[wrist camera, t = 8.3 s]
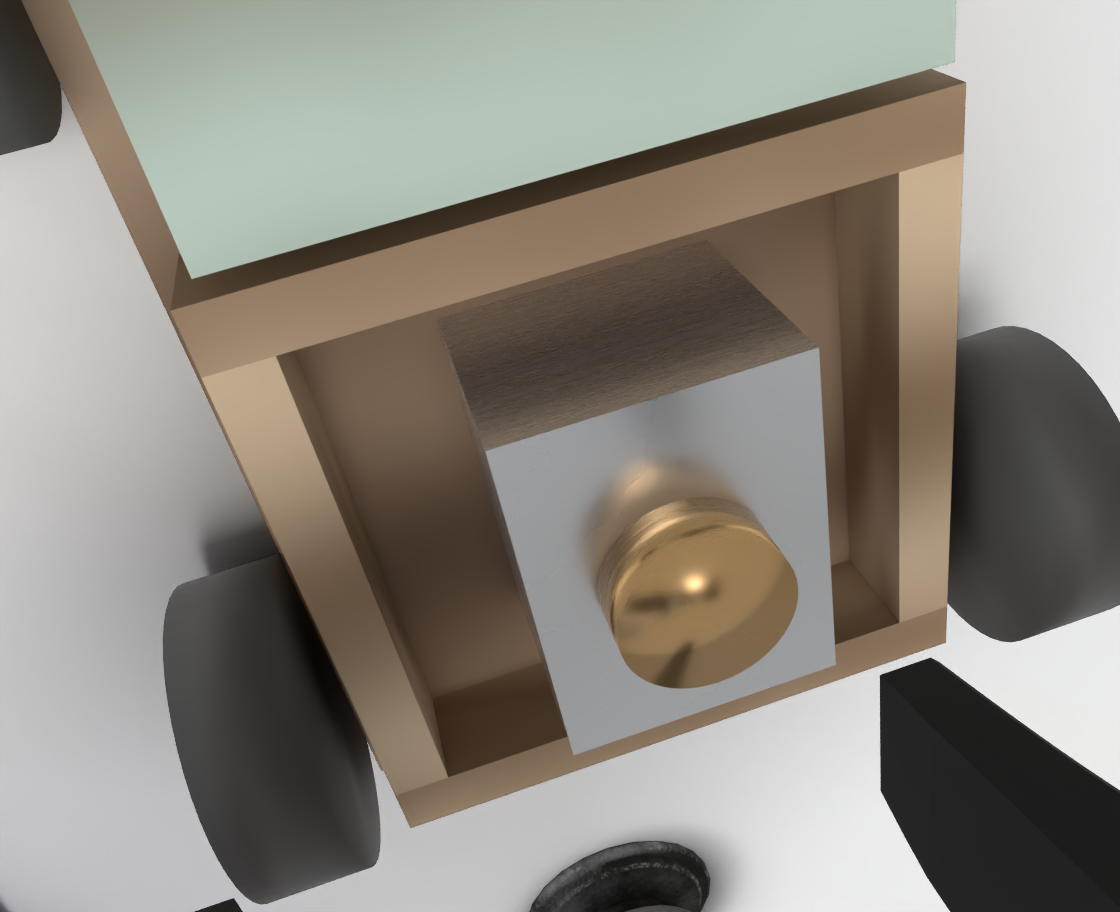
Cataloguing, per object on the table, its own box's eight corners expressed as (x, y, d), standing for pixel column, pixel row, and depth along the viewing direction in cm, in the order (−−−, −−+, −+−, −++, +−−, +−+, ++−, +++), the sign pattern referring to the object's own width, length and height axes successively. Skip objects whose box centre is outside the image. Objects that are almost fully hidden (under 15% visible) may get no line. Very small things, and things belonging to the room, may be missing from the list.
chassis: (951, 524, 23) (1120, 697, 19) (293, 744, 22) (304, 991, 17) (998, -753, 12) (1453, -1092, 8) (-362, -483, 11) (-829, -706, 6)
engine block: (739, 523, 20) (866, 709, 16) (519, 595, 19) (591, 806, 15) (705, 239, 16) (856, 383, 12) (436, 319, 16) (501, 495, 12)
